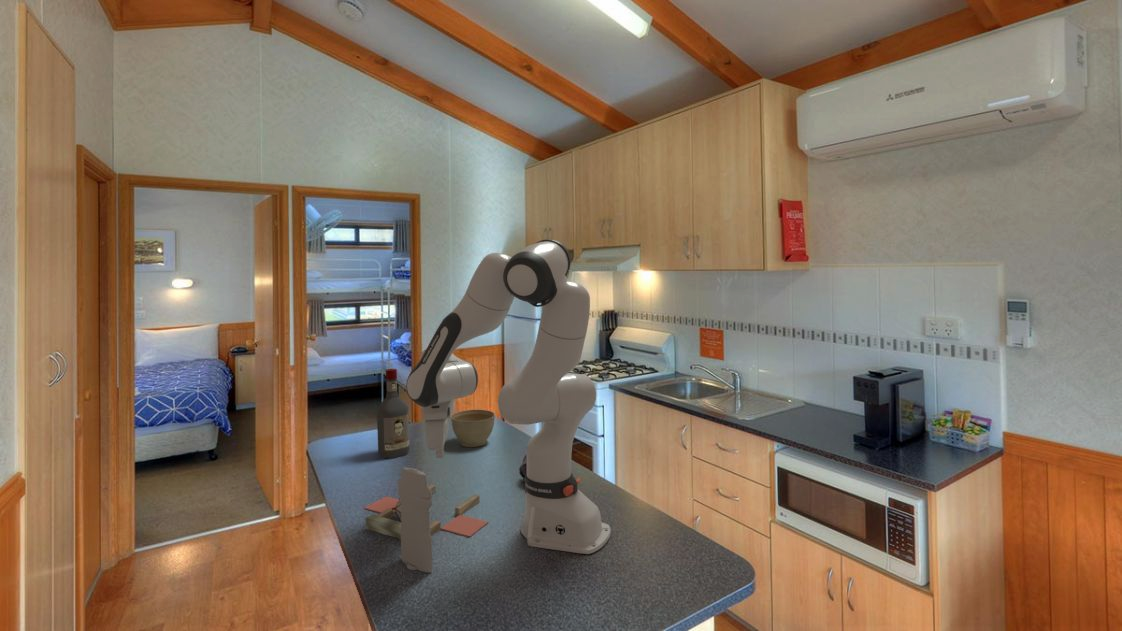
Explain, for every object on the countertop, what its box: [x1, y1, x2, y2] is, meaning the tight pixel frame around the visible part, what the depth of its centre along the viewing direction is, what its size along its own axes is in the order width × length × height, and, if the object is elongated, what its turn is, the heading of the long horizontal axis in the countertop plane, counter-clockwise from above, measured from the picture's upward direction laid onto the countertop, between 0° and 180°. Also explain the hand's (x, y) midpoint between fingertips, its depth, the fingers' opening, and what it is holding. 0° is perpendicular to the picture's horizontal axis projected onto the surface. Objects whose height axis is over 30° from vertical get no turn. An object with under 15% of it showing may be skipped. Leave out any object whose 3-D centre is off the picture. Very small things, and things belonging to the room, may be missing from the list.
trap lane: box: [365, 484, 481, 540], centre depth 140 cm, size 17×25×3 cm
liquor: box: [376, 368, 410, 459], centre depth 185 cm, size 9×9×30 cm
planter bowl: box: [450, 409, 496, 448], centre depth 197 cm, size 16×16×11 cm
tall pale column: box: [397, 466, 434, 574], centre depth 116 cm, size 11×4×22 cm, turn 55°
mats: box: [363, 495, 489, 538], centre depth 140 cm, size 35×8×1 cm, turn 64°
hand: (440, 456), depth 144 cm, fingers closed
